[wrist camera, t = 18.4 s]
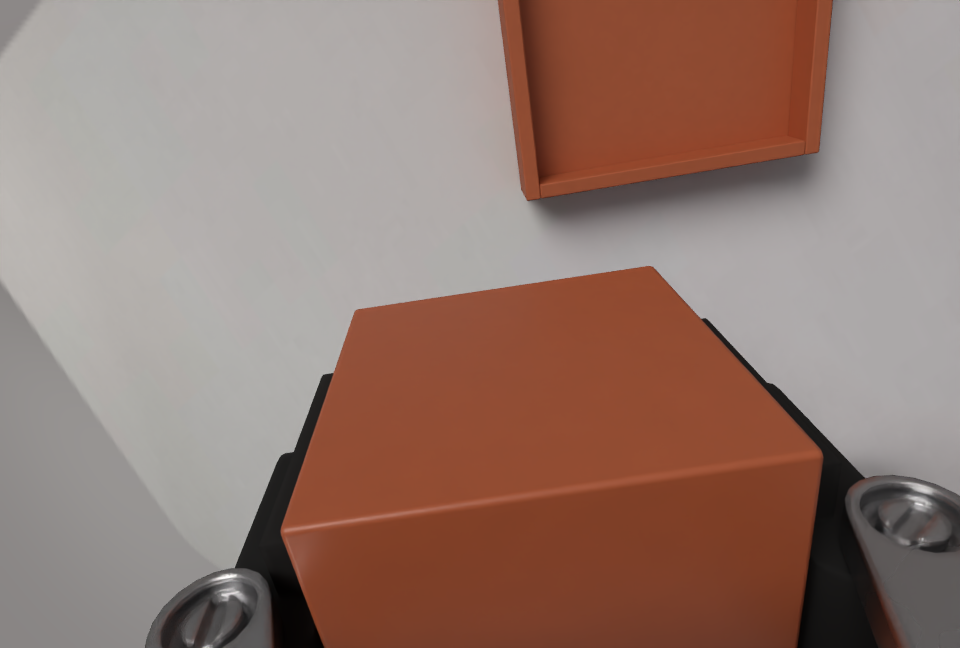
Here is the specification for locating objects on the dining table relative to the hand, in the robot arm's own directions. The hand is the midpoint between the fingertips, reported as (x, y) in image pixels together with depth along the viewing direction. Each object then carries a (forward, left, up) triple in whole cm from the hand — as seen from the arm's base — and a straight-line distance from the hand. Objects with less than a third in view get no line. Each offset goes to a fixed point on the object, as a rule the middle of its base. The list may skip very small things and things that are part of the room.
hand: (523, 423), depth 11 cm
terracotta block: (0, 0, 0) cm, 0 cm away
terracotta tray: (+8, +6, -18) cm, 20 cm away
